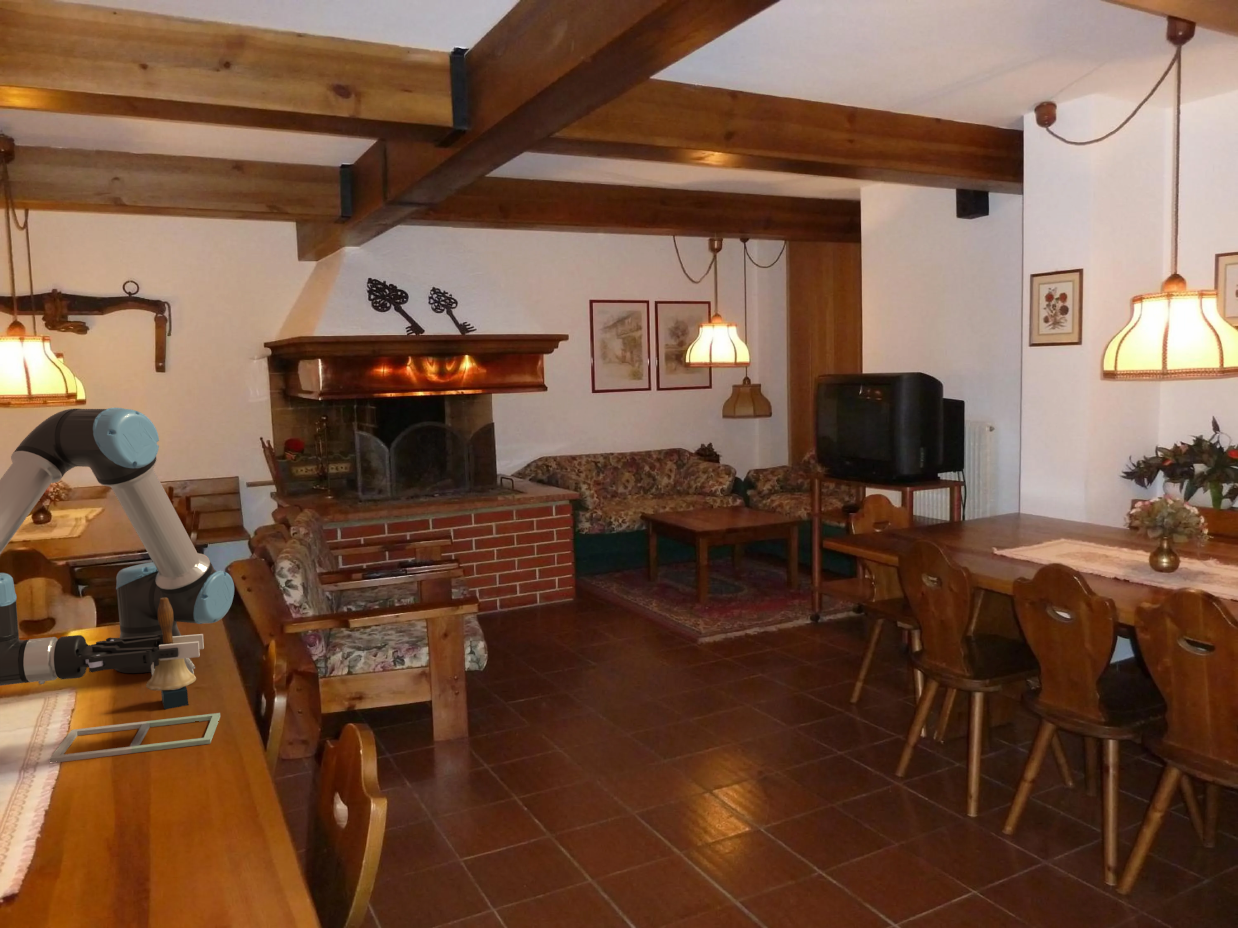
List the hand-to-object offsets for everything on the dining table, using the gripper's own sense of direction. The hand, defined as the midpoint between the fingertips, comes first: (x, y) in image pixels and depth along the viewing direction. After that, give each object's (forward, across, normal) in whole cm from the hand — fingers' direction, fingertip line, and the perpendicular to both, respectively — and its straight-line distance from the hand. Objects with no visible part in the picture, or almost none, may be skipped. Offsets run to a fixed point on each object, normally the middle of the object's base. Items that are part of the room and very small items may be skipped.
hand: (200, 645), depth 171 cm
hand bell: (-5, 0, -7) cm, 9 cm away
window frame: (-11, 0, -16) cm, 20 cm away
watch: (-8, -18, -17) cm, 26 cm away
